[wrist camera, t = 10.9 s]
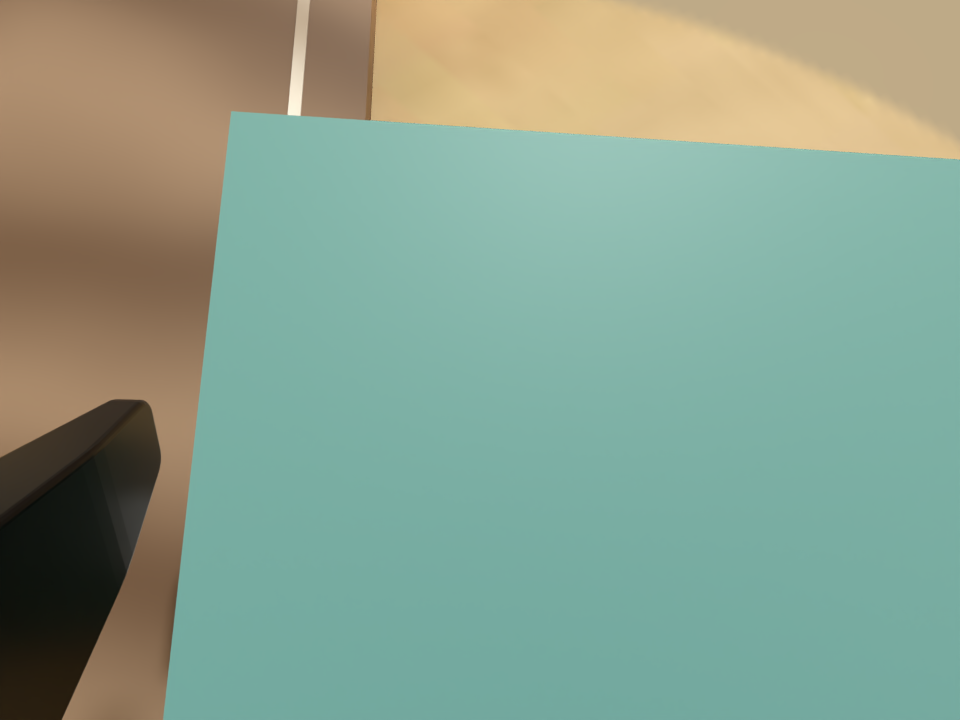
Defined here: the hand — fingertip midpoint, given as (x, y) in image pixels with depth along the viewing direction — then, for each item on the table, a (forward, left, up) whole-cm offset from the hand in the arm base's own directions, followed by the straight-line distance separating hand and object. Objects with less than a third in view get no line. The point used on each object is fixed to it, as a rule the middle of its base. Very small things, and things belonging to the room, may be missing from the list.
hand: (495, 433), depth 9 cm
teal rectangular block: (-1, +2, -7) cm, 7 cm away
